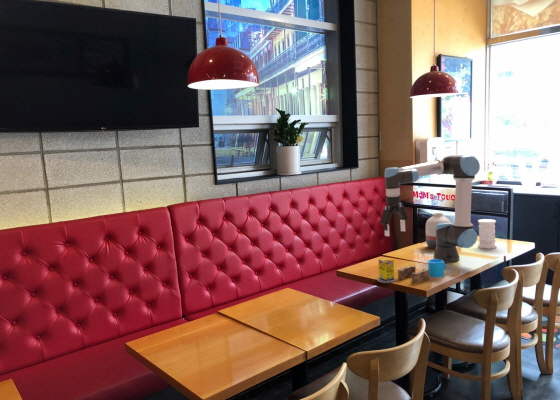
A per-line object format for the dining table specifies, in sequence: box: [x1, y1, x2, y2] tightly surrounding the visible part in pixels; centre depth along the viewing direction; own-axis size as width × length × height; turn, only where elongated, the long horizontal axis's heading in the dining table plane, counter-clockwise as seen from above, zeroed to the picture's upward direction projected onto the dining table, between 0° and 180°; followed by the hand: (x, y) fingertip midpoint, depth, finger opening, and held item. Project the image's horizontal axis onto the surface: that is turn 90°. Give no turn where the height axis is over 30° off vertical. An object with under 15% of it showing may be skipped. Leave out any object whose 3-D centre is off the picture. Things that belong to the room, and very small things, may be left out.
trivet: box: [376, 277, 397, 284], centre depth 242 cm, size 10×10×1 cm
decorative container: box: [477, 218, 498, 250], centre depth 300 cm, size 12×12×18 cm
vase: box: [425, 212, 451, 250], centre depth 306 cm, size 17×17×24 cm
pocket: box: [397, 265, 431, 284], centre depth 242 cm, size 11×12×5 cm
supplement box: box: [378, 257, 395, 281], centre depth 242 cm, size 6×6×11 cm
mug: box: [427, 258, 447, 278], centre depth 246 cm, size 12×8×8 cm
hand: (395, 233), depth 245 cm, fingers open, 13 cm apart
